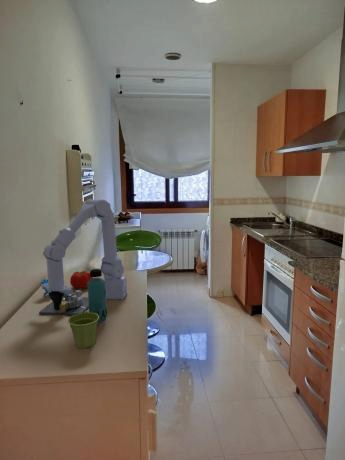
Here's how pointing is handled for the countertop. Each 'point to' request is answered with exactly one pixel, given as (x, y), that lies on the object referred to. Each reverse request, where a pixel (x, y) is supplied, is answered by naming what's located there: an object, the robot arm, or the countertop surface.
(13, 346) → the countertop surface
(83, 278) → the tomato
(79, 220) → the robot arm
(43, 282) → the gear
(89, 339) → the plant pot
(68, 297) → the housing
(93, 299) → the beverage bottle
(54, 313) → the flange plate
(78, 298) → the grey block ring
